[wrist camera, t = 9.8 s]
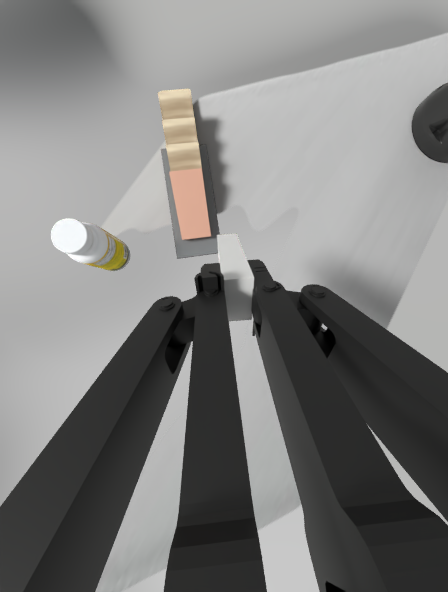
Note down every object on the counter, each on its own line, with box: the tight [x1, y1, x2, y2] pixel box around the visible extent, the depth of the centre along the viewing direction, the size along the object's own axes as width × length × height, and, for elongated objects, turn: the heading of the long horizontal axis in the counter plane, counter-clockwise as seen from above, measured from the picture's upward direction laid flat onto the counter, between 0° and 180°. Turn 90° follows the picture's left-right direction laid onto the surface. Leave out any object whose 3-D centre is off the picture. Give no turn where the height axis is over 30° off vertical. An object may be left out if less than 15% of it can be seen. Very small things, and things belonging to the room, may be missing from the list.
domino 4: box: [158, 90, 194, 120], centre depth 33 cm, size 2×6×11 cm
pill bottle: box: [51, 218, 130, 271], centre depth 29 cm, size 6×6×11 cm
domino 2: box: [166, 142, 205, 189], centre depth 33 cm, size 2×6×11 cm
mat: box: [161, 145, 220, 258], centre depth 35 cm, size 22×9×1 cm, turn 9°
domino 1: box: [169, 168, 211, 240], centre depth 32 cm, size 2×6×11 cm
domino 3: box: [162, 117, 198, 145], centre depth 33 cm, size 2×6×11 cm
